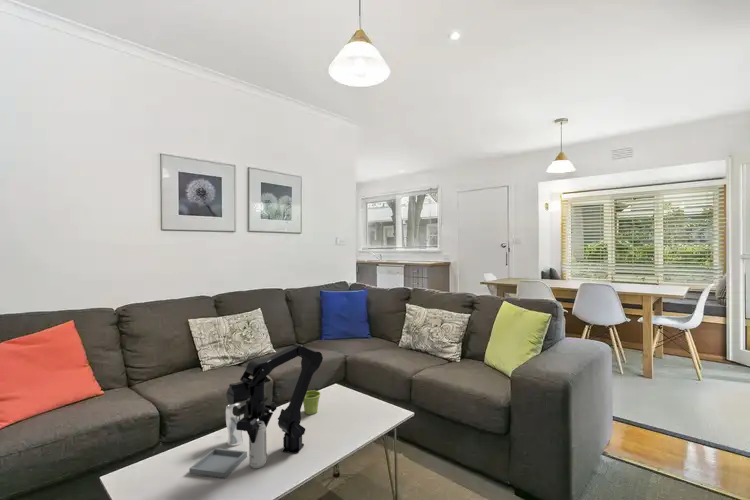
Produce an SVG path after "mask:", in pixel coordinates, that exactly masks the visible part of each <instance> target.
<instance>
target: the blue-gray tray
mask: <svg viewBox="0 0 750 500" xmlns="http://www.w3.org/2000/svg"><path fill="white" fill-rule="evenodd" d="M246 458H248V451H245V450H235V449H228V448H227V449H225V448H218V447H214V448H212V450H210V451H209V452H207V453H206V454H205V455H204V456H203V457H201V459H199V460H198V461H197V462H196V463H194V464H193V465H192V466H191V467H190V468H189V469H188V471H189V475H193V476H200V477H201V476H202V477H209V478H216V479H223V480H225V479H226V478H227V477H228V476H230V474H231V473H233V471H234V470H236V469H237V467H238V466H239V465H240V464H242V462H244V461H245V459H246Z"/></svg>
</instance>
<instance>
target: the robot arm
mask: <svg viewBox="0 0 750 500" xmlns="http://www.w3.org/2000/svg"><path fill="white" fill-rule="evenodd" d="M297 357H300V358H301V362H300V365H301V370H300V372H299V376H298V379H297V382H296V385H295V388H294V390H293V393H292V395H291V398H290V401H289V404H288V406H287V407H286V408H285V409H283V408H282V409H281V410H280V414H279V416H278V418H277V425H278V427H279V428H280V430H281V431H282V432H283V433H284V435H283V438H282V439H283V445H282V446H283V449H282V452H283V453H292V454H298V453H299V452H300V451H301V449H303V447H304V445H305V444H304V443H303V436H304V435H305V432H306V427H304V426H302V425H301V422H302V421H301V420H302V414H301V413H302V412H301V409H302V407H303V405H304V404H303V401H304V398H305V395H306V392H307V391H309V390H308V389H309V387H310V385H311V380H312V378H313V375H314V373H315V372H316V371H318V369H319V368H320V367H321V364H322V362H323V359H324V356H323V353H322V352H320V351H318V350H314V349H309V348H308V347H305V346H303V345H302V344H299V343H295V344H292V345H291V346H289V347H287V348H284V349H283V350H281V351H279V352H276V353H274V354H273V355H272V354H271V355H270V356H268V357H263V358H258V359H253V360H251V361H249V362H248V363H247V365H246V369H245V370H244V372H243V374H242V375H241V377H240V379H239V382H233V383H229V385H228V386H229V387H228V388H227V391H226V399H227V402H228V405H229V404H230V405H232V404H235V403H241V402H242V403H241V404H239V405H237V406H234V407H233V412H232V413H233V415H234V416H236V417H238V416H239V415H242V414H244V417H243V418H242V419H241V420H240V421H238V422H237V423H236V430H242V432H243V431H245V432H246V433H247V435H248V439H249V438H250V440H251V443H255V440H256V437H257V433H258V430H259V426H260V425H257V421H264V424H265V426H266V428H267V427H268V425H269V422H270V421H271V418H272V416H273V415H274V413H273V412H275V411H276V410H277V403H276V402H275V401H267V400H268V396H266V383H270V382H271V379H270V378H268V377H267V376H268V375H270V374H271V372H272V371H273V370H274V369H276V368H277V367H279V366H282V365H283V364H285V363H287V362H289V361H291V360H293V359H295V358H297ZM250 377H252V378H250Z"/></svg>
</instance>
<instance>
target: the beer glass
mask: <svg viewBox="0 0 750 500" xmlns="http://www.w3.org/2000/svg"><path fill="white" fill-rule="evenodd" d="M239 404H241V402H239V403H235V404H232V405H230V404H229V403H228V405H226V406H225V424H226V429H227V435H228V436H227V445H228V447H229V446H230V447H236V446H239V445H241V444H242V443H243V442H244V438H243V430H236V423H237V422H238V421H240V420H241V419H242V418H243V417H245V414H242V415H239V416H238V417H236V416H234V415H233V413H232V412H233V407H234V406H237V405H239Z"/></svg>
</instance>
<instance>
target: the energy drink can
mask: <svg viewBox="0 0 750 500" xmlns="http://www.w3.org/2000/svg"><path fill="white" fill-rule="evenodd" d="M257 425H260V426H259V430H258V433H257V437H256V440H255V443H251V440H250V438H249V437H248V444H249V446H248V449H249V451H248V452H249V454H248V455H249V460H248V461H249V465H250V466H251V467H252V468H253V469H260V468H262V467H264V466H265V465H266V463H267V459H268V458H267V427H266V426H265V424H264V421H259V420H257Z"/></svg>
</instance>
